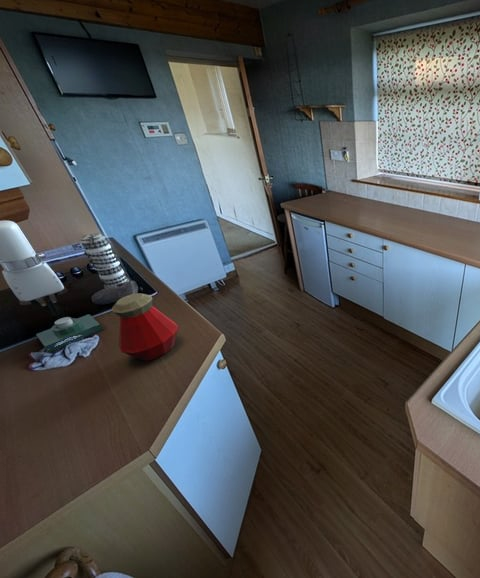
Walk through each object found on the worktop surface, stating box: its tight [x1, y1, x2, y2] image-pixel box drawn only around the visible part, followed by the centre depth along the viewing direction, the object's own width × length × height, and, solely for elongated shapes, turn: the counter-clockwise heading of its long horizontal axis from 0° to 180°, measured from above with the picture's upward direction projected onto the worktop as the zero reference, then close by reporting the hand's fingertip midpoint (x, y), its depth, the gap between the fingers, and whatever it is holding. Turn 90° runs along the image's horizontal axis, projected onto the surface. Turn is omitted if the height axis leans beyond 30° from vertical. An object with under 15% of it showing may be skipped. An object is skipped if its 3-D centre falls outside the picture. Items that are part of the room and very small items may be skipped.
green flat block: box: [35, 314, 104, 353], centre depth 100 cm, size 14×11×4 cm
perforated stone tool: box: [91, 280, 139, 306], centre depth 119 cm, size 15×5×7 cm, turn 128°
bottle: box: [111, 292, 179, 362], centre depth 89 cm, size 16×14×20 cm
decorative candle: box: [79, 233, 130, 289], centre depth 122 cm, size 9×9×25 cm
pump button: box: [54, 316, 74, 329], centre depth 99 cm, size 4×4×2 cm
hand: (55, 312), depth 97 cm, fingers closed
